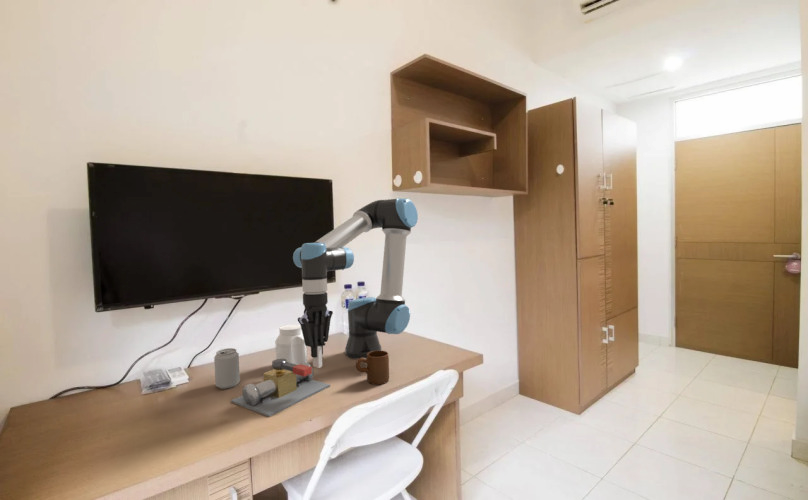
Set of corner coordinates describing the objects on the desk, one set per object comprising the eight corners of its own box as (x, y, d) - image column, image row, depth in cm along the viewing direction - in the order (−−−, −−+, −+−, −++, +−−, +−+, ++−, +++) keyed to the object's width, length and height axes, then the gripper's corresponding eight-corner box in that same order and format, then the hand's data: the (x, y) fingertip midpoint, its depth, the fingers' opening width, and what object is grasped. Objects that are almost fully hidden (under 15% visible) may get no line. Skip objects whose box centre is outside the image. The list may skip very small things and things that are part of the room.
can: (212, 385, 129) (210, 351, 129) (234, 379, 135) (232, 345, 134) (221, 391, 124) (219, 355, 124) (243, 384, 130) (242, 349, 129)
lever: (269, 368, 121) (269, 361, 121) (280, 363, 125) (280, 357, 125) (302, 377, 113) (302, 370, 113) (313, 372, 116) (313, 366, 116)
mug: (361, 390, 123) (360, 361, 123) (351, 382, 130) (350, 355, 129) (393, 381, 129) (392, 354, 129) (382, 374, 136) (382, 348, 135)
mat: (293, 375, 137) (293, 374, 137) (330, 386, 127) (330, 384, 127) (231, 402, 117) (231, 400, 117) (269, 416, 107) (268, 414, 107)
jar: (282, 372, 140) (281, 332, 139) (272, 366, 147) (271, 327, 146) (311, 364, 147) (310, 326, 147) (300, 358, 155) (299, 322, 154)
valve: (300, 379, 133) (299, 356, 133) (314, 383, 130) (313, 359, 129) (242, 404, 115) (241, 377, 114) (257, 410, 111) (255, 382, 110)
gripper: (321, 288, 127) (323, 358, 128) (290, 294, 116) (293, 370, 117) (338, 290, 123) (340, 362, 124) (307, 296, 112) (310, 375, 113)
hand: (317, 366), depth 120 cm, fingers closed
